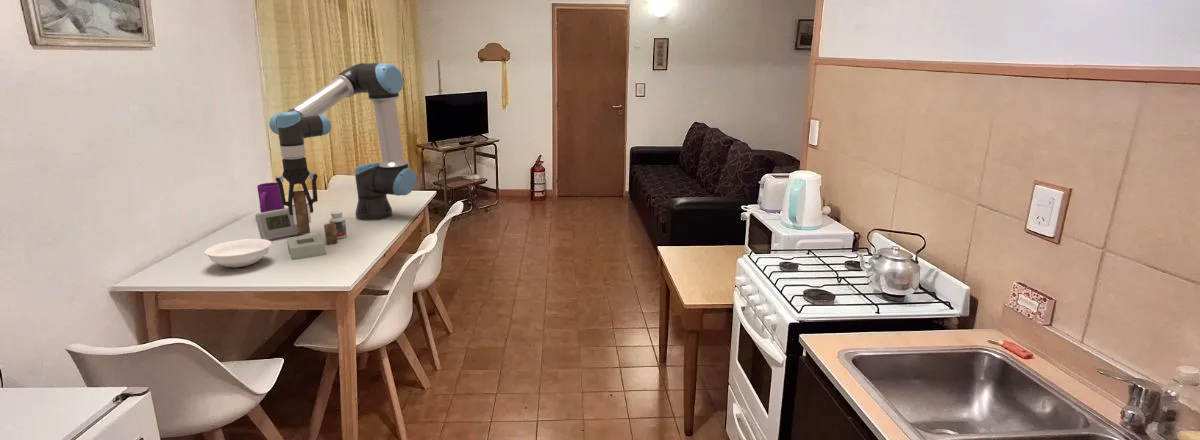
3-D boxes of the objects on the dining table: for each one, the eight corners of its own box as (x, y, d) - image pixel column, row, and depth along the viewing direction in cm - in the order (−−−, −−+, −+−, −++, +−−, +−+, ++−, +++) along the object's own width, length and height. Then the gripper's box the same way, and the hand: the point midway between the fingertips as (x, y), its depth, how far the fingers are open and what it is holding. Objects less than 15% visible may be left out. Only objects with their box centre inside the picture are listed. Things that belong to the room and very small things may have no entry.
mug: (288, 215, 280) (284, 182, 276) (276, 224, 265) (271, 189, 262) (266, 216, 279) (261, 182, 275) (253, 225, 264) (247, 190, 260)
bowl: (203, 278, 203) (199, 259, 201) (211, 260, 220) (208, 242, 219) (272, 269, 210) (269, 251, 209) (275, 252, 228) (273, 235, 226)
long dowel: (309, 230, 229) (304, 189, 225) (310, 233, 226) (305, 192, 222) (297, 232, 227) (291, 191, 224) (298, 235, 224) (292, 193, 220)
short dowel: (336, 240, 242) (334, 222, 240) (338, 243, 238) (336, 225, 237) (325, 242, 240) (323, 224, 238) (327, 244, 236) (324, 226, 235)
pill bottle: (329, 239, 244) (326, 214, 241) (334, 235, 249) (331, 210, 247) (344, 238, 244) (341, 214, 242) (348, 234, 249) (346, 210, 247)
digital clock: (260, 243, 240) (255, 215, 237) (258, 237, 248) (254, 210, 245) (306, 236, 248) (303, 209, 245) (303, 231, 256) (300, 205, 253)
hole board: (320, 244, 237) (319, 234, 236) (326, 254, 225) (324, 243, 224) (288, 249, 232) (286, 238, 231) (291, 259, 220) (290, 248, 219)
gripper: (319, 153, 227) (326, 217, 233) (265, 158, 219) (275, 223, 225) (321, 156, 221) (330, 221, 227) (267, 161, 213) (277, 228, 219)
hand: (302, 222), depth 226 cm, fingers closed on long dowel, 4 cm apart
